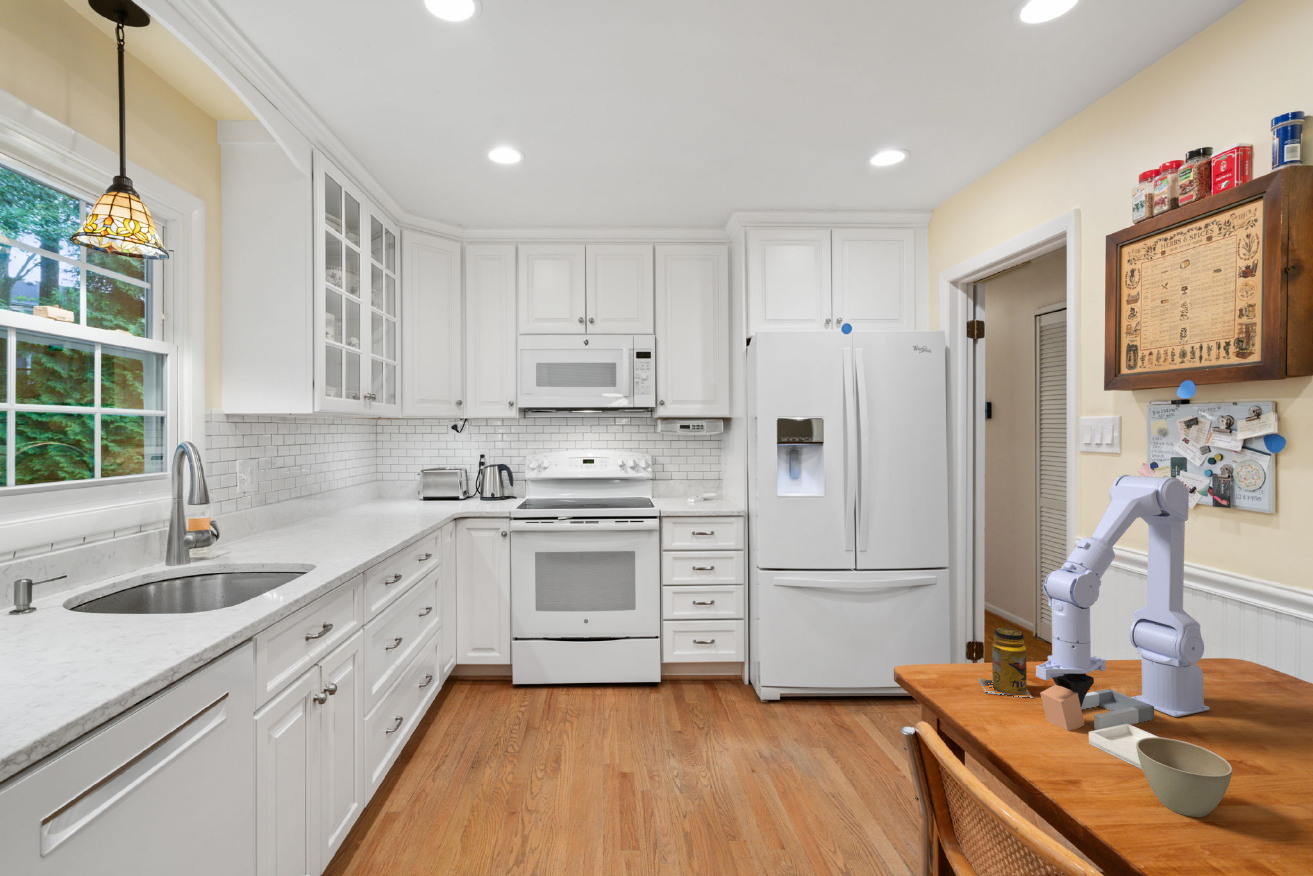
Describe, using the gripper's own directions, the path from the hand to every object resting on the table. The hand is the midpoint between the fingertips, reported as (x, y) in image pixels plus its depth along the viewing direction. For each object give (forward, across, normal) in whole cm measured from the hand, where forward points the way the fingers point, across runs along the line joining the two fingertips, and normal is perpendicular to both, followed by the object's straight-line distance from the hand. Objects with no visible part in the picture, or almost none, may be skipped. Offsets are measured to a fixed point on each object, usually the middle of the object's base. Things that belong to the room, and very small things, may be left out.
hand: (1071, 713), depth 107 cm
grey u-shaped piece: (+1, -13, 0) cm, 13 cm away
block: (+2, +2, 0) cm, 2 cm away
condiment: (+2, -1, -15) cm, 15 cm away
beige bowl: (+2, +9, +23) cm, 25 cm away
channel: (+2, -6, 0) cm, 6 cm away
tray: (+2, 0, +11) cm, 11 cm away
